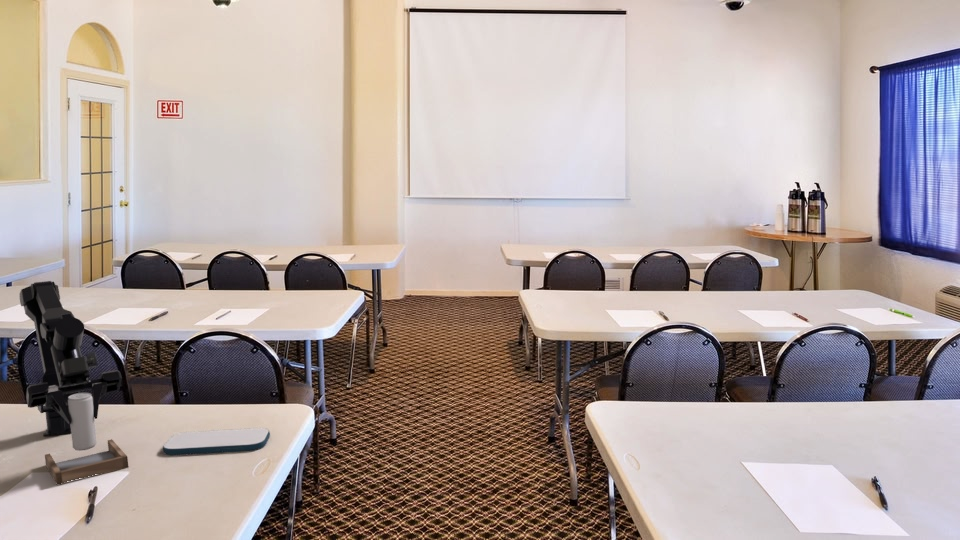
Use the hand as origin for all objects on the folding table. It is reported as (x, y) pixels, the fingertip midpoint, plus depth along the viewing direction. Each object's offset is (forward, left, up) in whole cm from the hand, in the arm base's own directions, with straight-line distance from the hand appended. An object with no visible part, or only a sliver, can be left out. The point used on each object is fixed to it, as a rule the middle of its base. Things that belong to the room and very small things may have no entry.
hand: (83, 420), depth 161 cm
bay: (-1, 0, -11) cm, 11 cm away
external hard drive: (-5, +27, -12) cm, 30 cm away
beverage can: (-1, -1, -7) cm, 7 cm away
